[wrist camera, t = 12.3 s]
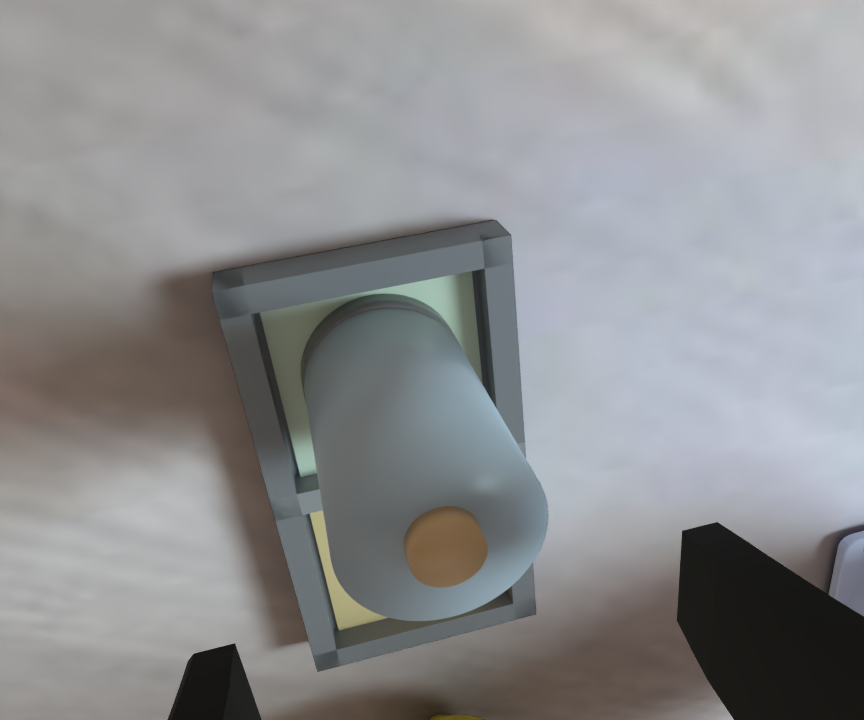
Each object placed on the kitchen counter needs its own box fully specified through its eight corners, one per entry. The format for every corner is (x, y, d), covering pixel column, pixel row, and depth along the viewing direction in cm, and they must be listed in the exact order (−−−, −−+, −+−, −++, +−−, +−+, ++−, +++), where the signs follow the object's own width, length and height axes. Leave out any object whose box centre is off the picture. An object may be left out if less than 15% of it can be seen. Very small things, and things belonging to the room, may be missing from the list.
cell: (453, 281, 19) (560, 438, 12) (462, 419, 21) (558, 614, 14) (288, 307, 18) (315, 487, 12) (313, 447, 20) (347, 664, 14)
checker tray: (496, 219, 19) (511, 235, 18) (523, 586, 25) (536, 614, 24) (213, 272, 18) (211, 291, 17) (314, 641, 24) (317, 671, 23)
